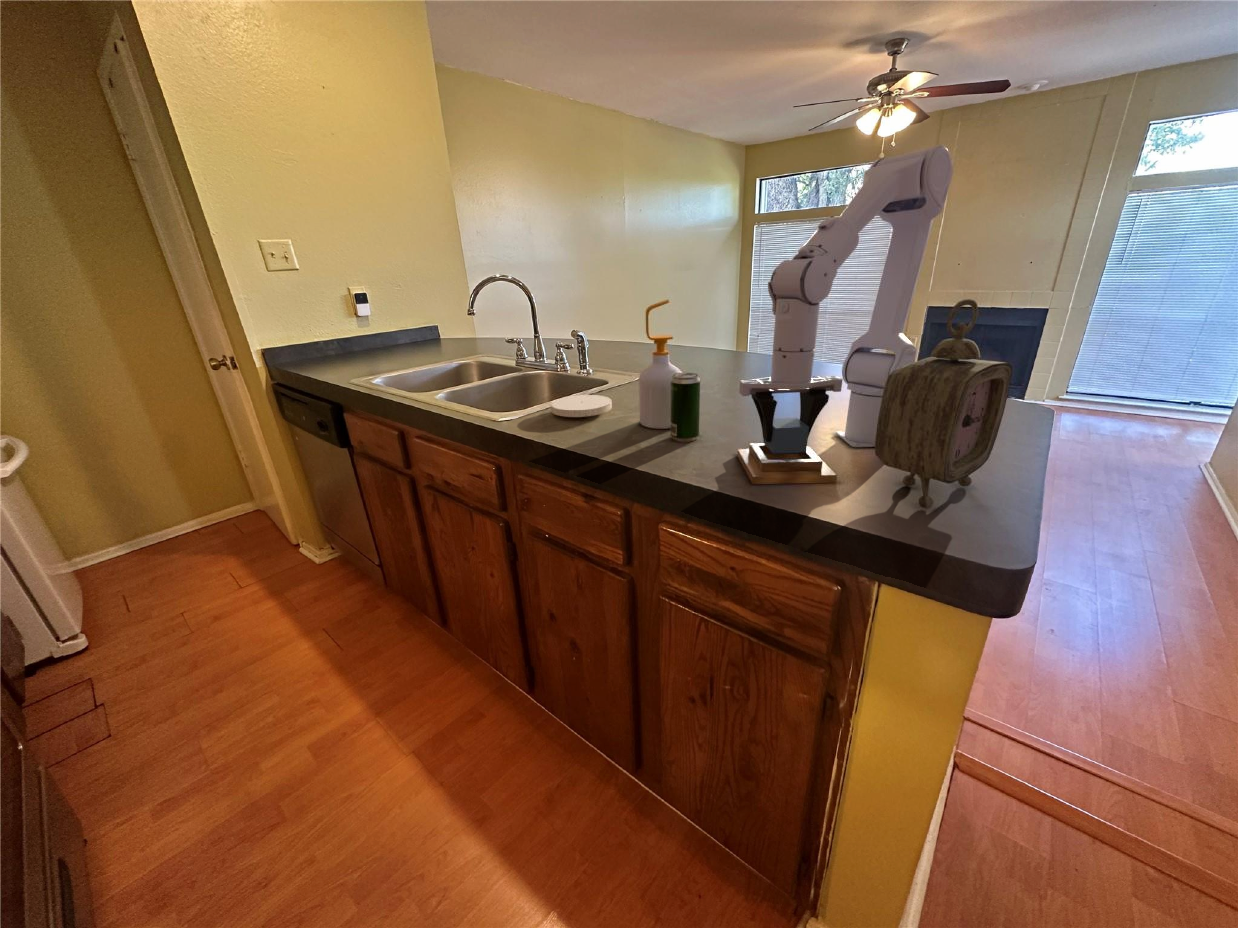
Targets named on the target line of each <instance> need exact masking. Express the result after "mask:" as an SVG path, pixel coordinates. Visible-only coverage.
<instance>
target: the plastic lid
mask: <svg viewBox="0 0 1238 928" xmlns="http://www.w3.org/2000/svg"><path fill="white" fill-rule="evenodd" d="M612 408H613V400H612V399H611V398H610V397H608V396H605V395H597V394H580V395H579V394H577V395H571V396H570V395H569V396H565V397H560V398H557V399H555V400H553V401H552V402H551V403H550V411H551V413H552V414H554V415H556V416H560V417H567V418H583V417H593V416H597V415H602V414H605V413H607V412H609V411H611V410H612Z"/></svg>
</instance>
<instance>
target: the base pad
mask: <svg viewBox="0 0 1238 928" xmlns="http://www.w3.org/2000/svg"><path fill="white" fill-rule="evenodd" d="M736 449H737V450H736V456H737V458H738V460H739V462H740V463H741V465H742V467H743V469H744V471H745V473H746V475H747V476H748V479H749V480H750V482H751V484H752V485H777V484H778V485H780V484H782V485H783V484H824V483H825V484H827V483H829V484H830V483H833V484H834V483H837V478H838V475H837V474H836V472H834V471H833V470H832V469H831V467H830V466H829V465H828V464H826V462H825V461H824V460H823V459H822V458H821V457H820V456H819V455H818V454H817V453H816V452H815V451H814V450H813V449H812V448H811V447H810V446H808V445H807V450H806V452H799V453H777V454H773V453H772V452H771V451H770V450H769V448H768V447H767V446H766V445H765V444H764V443H763V442H756V443H753V442H752V443H749V448H736Z"/></svg>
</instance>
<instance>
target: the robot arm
mask: <svg viewBox="0 0 1238 928" xmlns="http://www.w3.org/2000/svg"><path fill="white" fill-rule="evenodd" d="M953 174H954V166H953V162H952V155H951V153H950V151H949V149H948V148H947V146H945V145H943V144H938V145H934V146H933V147H931V148H926V149H922V150H917V151H912V152H908V153H904V154H900V155H895V156H891V157H881V158H878V159H876V160H874V162H872V164H871V165H870V166H869V168H868V169H866V170H865V171H864V175H863V179H862V186H861V187H860V188H859V190H858V191H857V193H856V194H855V195H854V197H853V198H852V199H851V201H850V202H849V203H848V204H847V206H846V207H845V209H844V210H843V211H842V213H841V214H840V216H838V217H830V218H828V219H823V220H821V222H819V224H818V225H817V230H816V231H815V232H814V233H813V234H812V235H811V236H810V238H808V240H807V241H806V242H805V244H803V245H801V247H800V248H799V249H798V250H797V253H795V255H794V256H793V257H792V259H791V258H790V259H784V260H782V261H781V262H780V263H779V264H778V265H777V266H776V267H775V268H774V270H772V271H773V272H772V273H771V276H770V280H769V281H767V291H768V295H769V297H770V299H771V302H772V306H771V311H772V314H773V316H774V326H773V327H774V329H773V343H772V355H771V369H770V376H769V377H761V378H754V379H745V380H743V379H741V380H739V391H738V392H739V395H741V396H742V397H750V396H751V399H752V401H753V403H754V406H755V408H756V410H757V414H758V418H759V421H760V426H761V431H762V439H763V440H765V441H766V442H771V439H772V433H773V419H775V418H774V417H775V412H776V408H777V405H778V401H777V400H776V399H774V398H775V396H774V395H773V394H792V393H794V394H795V393H796V394H797V393H799V406H800V407H799V408H800V409H799V420H801V421H802V422H803V423H805V424H806V425H807V426H809V432H808V438H809V437H810V433H811V432H812V429H813V426H814V425H815V422H816V421H817V418H818V416H819V415H820V413H821V412H822V410H823V409H824V408H825V407H826V406H827V404H828V403H829V400H830V395H829V394H828V393H827V392H833V393H840V392H842V387H843V382H844V383H845V384H846V385H847V386H846V390H848V391H850V393H849V401H848V408H847V414H846V415H847V416H846V422H845V428H844V429H845V430H836V431H835V434H836V436H838V437H839V438H841V439H842V440H843V441H844V442H846V444H848V445H849V446H850V447H852V448H875V439H876V431H877V424H878V417H879V411H880V406H881V401H882V396H883V391H884V388H885V384H886V381H887V378H888V376H889V375H890V374H891V373H892V372H893V371H894V370H896V369H898V368H900V367H903V366H906V365H908V364H911V363H914V362H916V358H917V357H916V356H917V351H918V348H917V347H916V345H914V343H912V341H911V340H909V338H908V337H907V336H906V335H905V334H904V331H905V327H906V324H907V321H908V316H909V312H910V309H911V305H912V301H913V298H914V295H915V290H916V286H917V282H918V279H919V275H920V271H921V268H922V264H923V262H924V261H923V260H924V257H925V252H926V249H927V245H928V241H929V238H930V234H931V230H932V227H933V222H934V219H935V218H937V217H939V215H941V214H942V213H943V210H944V206H945V203H946V200H947V196H948V193H949V189H950V185H951V182H952V178H953ZM877 216H879V218H880V219H881V220H882V221H883V222H886V223H888V224H890V226H891V228H892V232H891V238H890V241H889V244H888V250H887V254H886V257H885V261H884V266H883V269H882V273H881V278H880V282H879V286H878V291H877V294H876V298H875V302H874V307H873V310H872V313H871V314H872V315H871V319H870V322H869V326H868V330H867V331H866V332H865V333H864V334H862V335H860V336H859V337H857V338H856V339H854V340H853V341H852V342H851V346H850V349H849V351H848V354H847V356H846V357H845V359H844V361H843V363H842V367H841V377H839V376H837V375H835V376H834V375H833V376H831V375H830V376H829V375H828V376H823V375H822V376H821V375H820V376H819V375H813V371H814V360H815V353H816V344H817V343H816V342H817V334H818V325H819V324H818V323H819V316H820V307H821V306H820V305H821V302H823V301H824V300H825V299H826V298H828V297H829V294H830V293H831V290H832V289H833V284H834V280H835V278H836V277H837V274H838V270H839V269H840V267H842V265H844V263H845V262H846V261H847V259H848V258H849V257H850V256H851V255H852V254H853V252H854V251H855V250H856V249H857V247H858V245H859V241H860V236H859V233H861V232H862V230H863V229H865V227H867V226H868V224H869V223H870V222H872V221H873V220H874V219H875V218H876V217H877ZM873 350H885V351H890V352H892V353H889V352H880V351H873Z"/></svg>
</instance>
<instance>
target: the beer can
mask: <svg viewBox="0 0 1238 928" xmlns="http://www.w3.org/2000/svg"><path fill="white" fill-rule="evenodd" d="M700 402H701V379H700V374H699V373H696V372H682V373H676V374H673V375H672V379H671V428H670V436H671V439H672V440H673V441H675V442H678V443H679V442H681V443H689V442H694V441H696V440H698V438H699V436H700V416H701V415H700V414H701V413H700V411H701V410H700V408H701V406H700V405H701V403H700Z"/></svg>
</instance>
